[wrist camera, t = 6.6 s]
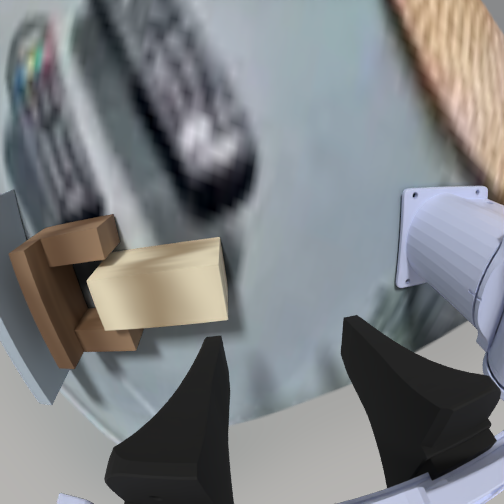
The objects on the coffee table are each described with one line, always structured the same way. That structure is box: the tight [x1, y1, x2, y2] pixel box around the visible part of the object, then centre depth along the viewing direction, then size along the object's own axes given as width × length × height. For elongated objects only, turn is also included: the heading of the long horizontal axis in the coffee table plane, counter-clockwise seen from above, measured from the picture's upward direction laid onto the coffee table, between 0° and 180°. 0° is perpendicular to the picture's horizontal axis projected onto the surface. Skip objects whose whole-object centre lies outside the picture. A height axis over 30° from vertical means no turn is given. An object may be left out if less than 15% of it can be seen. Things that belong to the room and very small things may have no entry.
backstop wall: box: [0, 190, 70, 405], centre depth 18 cm, size 2×16×6 cm, turn 6°
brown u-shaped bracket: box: [9, 214, 144, 369], centre depth 18 cm, size 6×9×5 cm, turn 6°
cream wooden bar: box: [87, 237, 228, 331], centre depth 19 cm, size 8×4×4 cm, turn 96°
